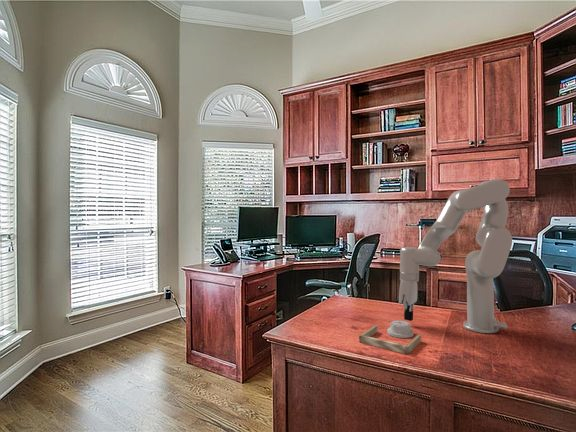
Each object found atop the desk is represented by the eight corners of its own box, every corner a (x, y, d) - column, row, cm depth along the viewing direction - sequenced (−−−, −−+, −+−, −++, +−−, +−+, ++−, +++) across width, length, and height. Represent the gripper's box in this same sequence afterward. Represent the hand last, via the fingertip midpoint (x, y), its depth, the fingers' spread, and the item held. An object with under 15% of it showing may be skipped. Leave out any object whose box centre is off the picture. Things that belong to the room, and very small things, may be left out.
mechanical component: (388, 338, 130) (415, 339, 128) (388, 326, 130) (415, 328, 128) (386, 329, 140) (411, 330, 138) (386, 318, 140) (411, 319, 138)
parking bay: (421, 341, 126) (420, 334, 125) (407, 354, 115) (407, 347, 115) (375, 331, 137) (375, 325, 137) (359, 342, 126) (359, 335, 126)
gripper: (406, 272, 151) (405, 313, 151) (393, 278, 139) (393, 322, 139) (423, 275, 146) (423, 317, 146) (412, 280, 134) (411, 326, 135)
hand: (408, 319), depth 143 cm, fingers closed
